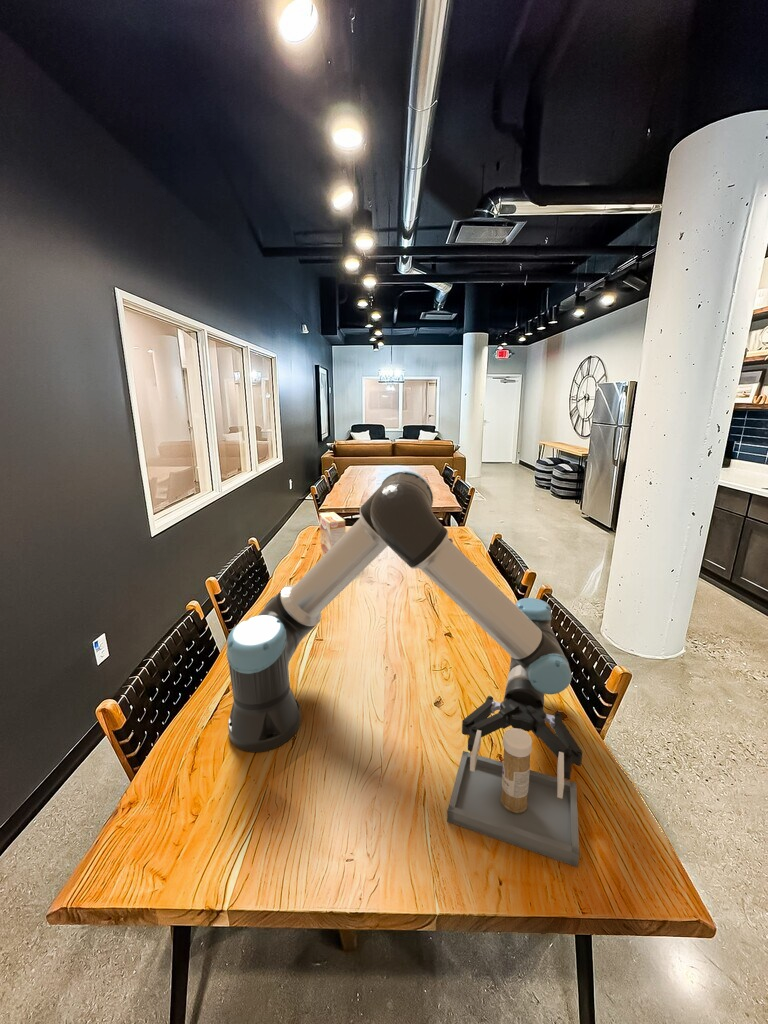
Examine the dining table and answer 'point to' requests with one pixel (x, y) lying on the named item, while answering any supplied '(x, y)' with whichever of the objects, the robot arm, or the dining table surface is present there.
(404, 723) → the dining table surface
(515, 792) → the sprinkles bottle
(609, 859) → the dining table surface
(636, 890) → the dining table surface
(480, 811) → the tray
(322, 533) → the coffeecake box
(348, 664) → the dining table surface
